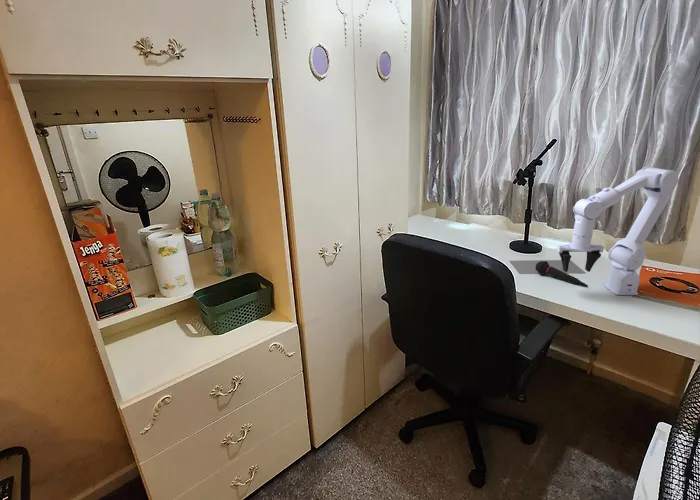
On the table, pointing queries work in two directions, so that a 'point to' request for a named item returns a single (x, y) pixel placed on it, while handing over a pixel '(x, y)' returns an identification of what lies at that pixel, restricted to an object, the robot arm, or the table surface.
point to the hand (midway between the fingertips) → (576, 270)
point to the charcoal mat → (529, 265)
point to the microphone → (556, 273)
